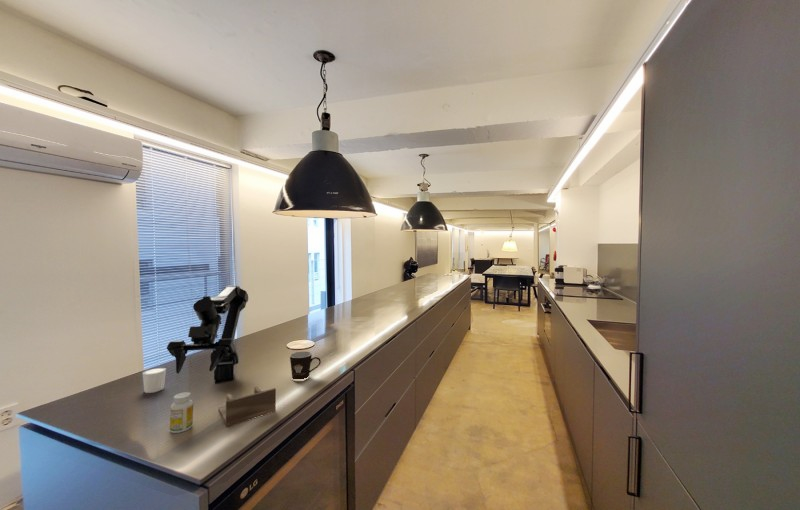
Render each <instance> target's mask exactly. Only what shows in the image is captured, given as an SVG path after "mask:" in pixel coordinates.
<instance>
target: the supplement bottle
mask: <svg viewBox="0 0 800 510" xmlns="http://www.w3.org/2000/svg"><path fill="white" fill-rule="evenodd" d="M191 394H192V393H191V392H187V391H185V392H180V393H177V394H175V395H174V396H173V403H172V404H171V406H170V413H169V414H170V416H169V417H170V419H169V432H170V433H173V434H181V433H183V432H186V431H188V430H189V429H191V428H192V427H193V419H194V402H193V400H192V399H191V397H192V395H191Z"/></svg>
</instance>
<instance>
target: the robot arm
mask: <svg viewBox="0 0 800 510" xmlns="http://www.w3.org/2000/svg"><path fill="white" fill-rule="evenodd" d="M248 302H249V294H248V293H247V290H244V289H243V288H241V287H240V286H239V285H226V286H225V287H224V289H223V290H222V291H221V292H220V293H219V294H218V295H217V296H212V297H211V296H210V295H209V296H207V295H206V296H203V297H202V299H198V300H197V301H196V302H195V303H194V304H193V306H192V307H193V310H194V313H195V314H196V316H197V318H198V320H199V321H201V322H200V325H199V326H198V325H197V326H196V325H195V326H194V325H193V326H190V327H189V330H188V335H187V337H188V338H191V339H190V341H191V343H192V344H191V343H190V344H187V343H186V342H185V340H171V341H170V342H168V343H167V346H166V350H167V351H168V352H169V353H170V355H171V356H172V357H174V358H175V371H176V374H179V373H180V372H181V370H182V369H183V366H184V364H185V361H186V359H187V356H186V355H187V354H188V352H189V351H190V352H191V351H209V350H210V351H211V350H212V351H211V353H210V366H209V369H208V370H209V372H212V371H213V381H214V384H220V383H225V382H226V383H227V382H231V381H232V382H233V381H234V380H235V375H236V374H235V365H237V364H239V361H240V360H239V359H240V358H239V357H240V356H239V353H238V352H237V348H236V345H235V343H234V341H235V340H234V339H235V336H236V330H237V327H238V322H239V319H240V315H241V312H242V310H244V309H245V308H246V305H247V303H248ZM226 313H227V315H226V319H225V323H224V326H223V330H222V334H221V338H219V339H218V340H217V341H215V340H216V339H217V338H218V331H219V328H220V325H222V316H221V315H223V314H224V315H225V314H226Z"/></svg>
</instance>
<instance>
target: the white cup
mask: <svg viewBox="0 0 800 510" xmlns="http://www.w3.org/2000/svg"><path fill="white" fill-rule="evenodd" d="M166 373H167V368H165V367H157V368H151V369H147V370H145V371H143V372H142V381H143V391H144V393H145V394H150V393H157V392H159V391H161V390H163V389H164V388H165V381H166Z"/></svg>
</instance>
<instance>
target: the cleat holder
mask: <svg viewBox="0 0 800 510" xmlns="http://www.w3.org/2000/svg"><path fill="white" fill-rule="evenodd" d="M253 388H254V389H253V391H254V392H253V393H252V394H248V395H244V396H240V397H237V398H234V397H233V396H232V395H231V393H227V394H226V401H225V405H222V406H218V409H217V410H218V413H219V415H220V418H221V419H222V421H223V423H224V425H225V426H226V428H228V427H231V426H234V425H237V424H240V423H243V422H246V421H249V419H250V420H253V419H256V418H255V417H257V418H259V417H258V416H260V417H262V416H261V415H263V416H266V415H268V413H269V414H272V413H275V412H277V411H276V402H277V401H276V399H277V397H276V395H277V394H276V393H277V389H276V388H275V387H273V388H270V389H267V390H263V391H262V390H261V388H259V386H255V387H253ZM274 411H275V412H274ZM271 412H272V413H271ZM265 414H266V415H265ZM252 418H253V419H252Z"/></svg>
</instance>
